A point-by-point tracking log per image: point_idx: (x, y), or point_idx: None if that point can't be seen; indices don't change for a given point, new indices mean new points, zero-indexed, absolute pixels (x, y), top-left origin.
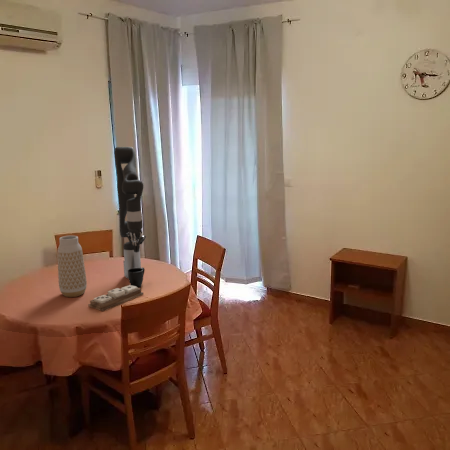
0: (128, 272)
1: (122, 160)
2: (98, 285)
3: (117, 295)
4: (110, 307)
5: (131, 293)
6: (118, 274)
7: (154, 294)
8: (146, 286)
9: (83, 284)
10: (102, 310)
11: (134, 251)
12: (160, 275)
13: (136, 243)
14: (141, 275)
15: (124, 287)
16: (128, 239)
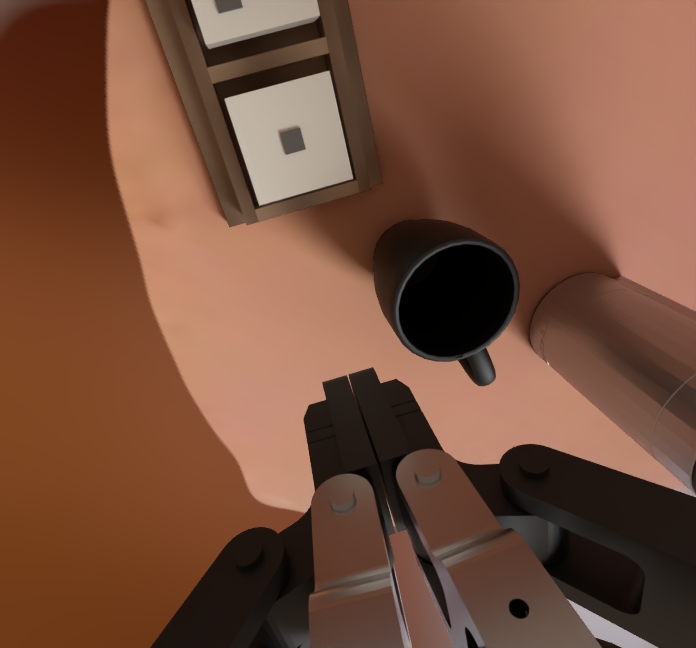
0: (465, 234)
1: None
2: (640, 39)
3: None
4: None
5: (209, 115)
6: (680, 262)
7: (183, 285)
8: (362, 308)
9: None
10: None
11: (361, 373)
12: (464, 441)
13: (314, 545)
14: (384, 313)
15: (323, 107)
16: (683, 494)
